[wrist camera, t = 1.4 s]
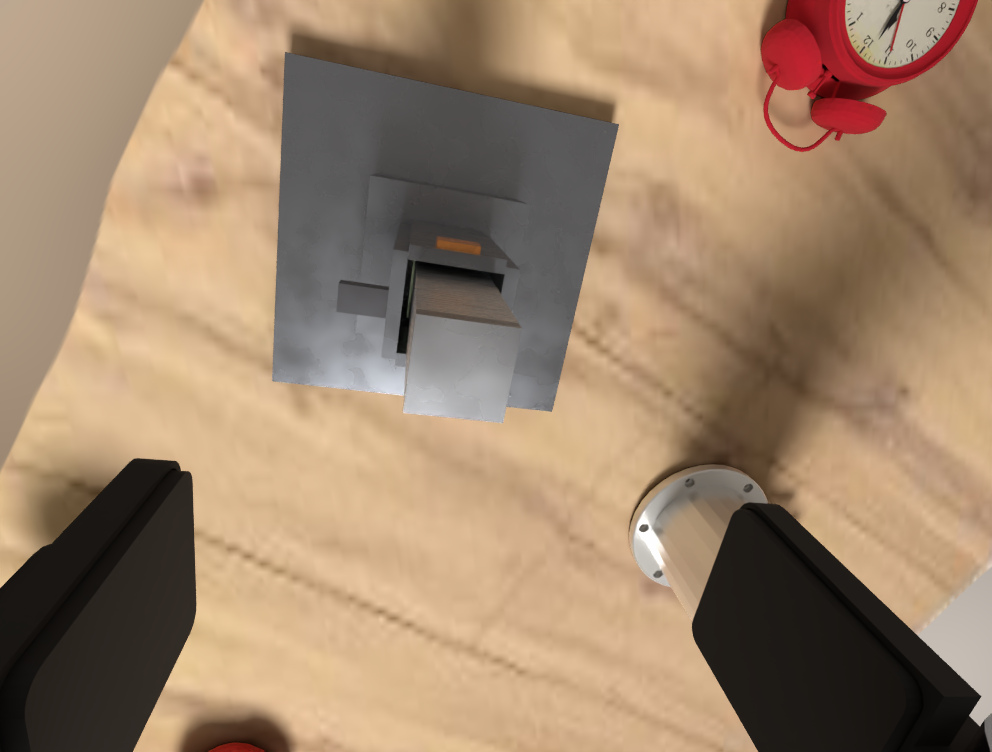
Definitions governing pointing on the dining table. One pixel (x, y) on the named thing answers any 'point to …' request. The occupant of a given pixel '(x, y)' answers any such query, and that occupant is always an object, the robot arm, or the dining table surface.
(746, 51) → the dining table surface
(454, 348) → the steel post
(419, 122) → the charcoal stand
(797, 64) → the alarm clock
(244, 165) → the dining table surface
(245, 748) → the pomegranate
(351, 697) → the dining table surface
